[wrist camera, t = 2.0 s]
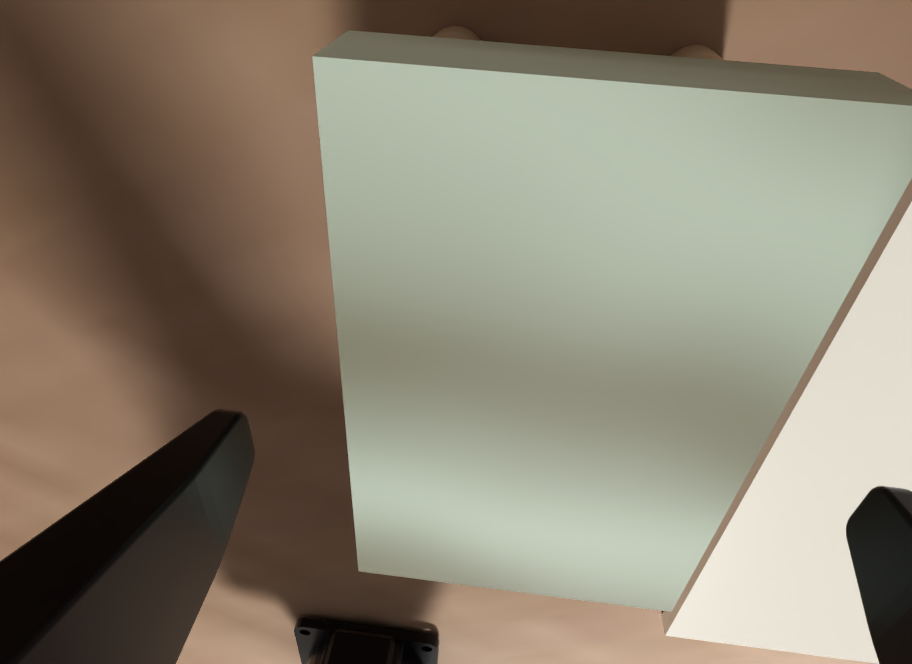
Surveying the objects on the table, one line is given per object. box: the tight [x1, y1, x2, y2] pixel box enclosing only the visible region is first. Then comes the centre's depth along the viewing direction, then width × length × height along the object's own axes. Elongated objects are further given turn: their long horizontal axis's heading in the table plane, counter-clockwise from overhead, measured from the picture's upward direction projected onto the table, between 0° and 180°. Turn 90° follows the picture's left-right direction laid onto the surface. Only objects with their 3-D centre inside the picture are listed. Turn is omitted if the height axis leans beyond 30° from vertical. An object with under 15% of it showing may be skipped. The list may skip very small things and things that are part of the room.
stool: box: [312, 26, 912, 612], centre depth 11 cm, size 10×6×6 cm, turn 177°
